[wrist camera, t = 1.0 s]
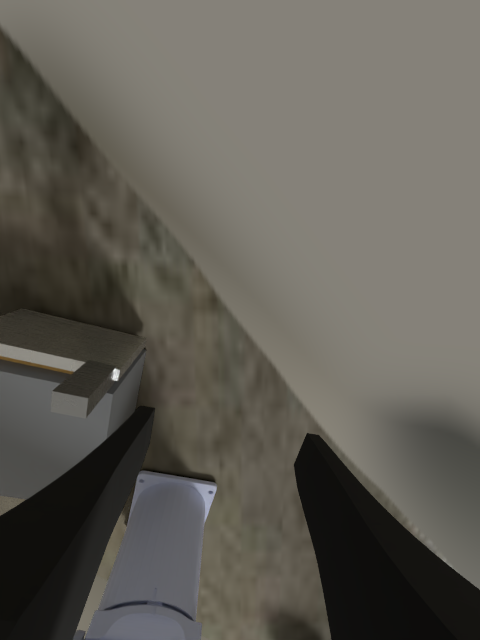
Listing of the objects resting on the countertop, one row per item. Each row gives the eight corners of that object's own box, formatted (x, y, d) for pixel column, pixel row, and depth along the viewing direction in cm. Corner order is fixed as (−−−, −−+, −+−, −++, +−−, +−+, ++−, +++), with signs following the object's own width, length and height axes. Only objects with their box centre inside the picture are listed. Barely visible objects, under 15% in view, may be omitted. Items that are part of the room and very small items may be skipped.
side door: (144, 349, 19) (90, 419, 12) (22, 320, 18) (-125, 378, 10) (146, 335, 19) (92, 399, 11) (22, 305, 17) (-129, 354, 10)
